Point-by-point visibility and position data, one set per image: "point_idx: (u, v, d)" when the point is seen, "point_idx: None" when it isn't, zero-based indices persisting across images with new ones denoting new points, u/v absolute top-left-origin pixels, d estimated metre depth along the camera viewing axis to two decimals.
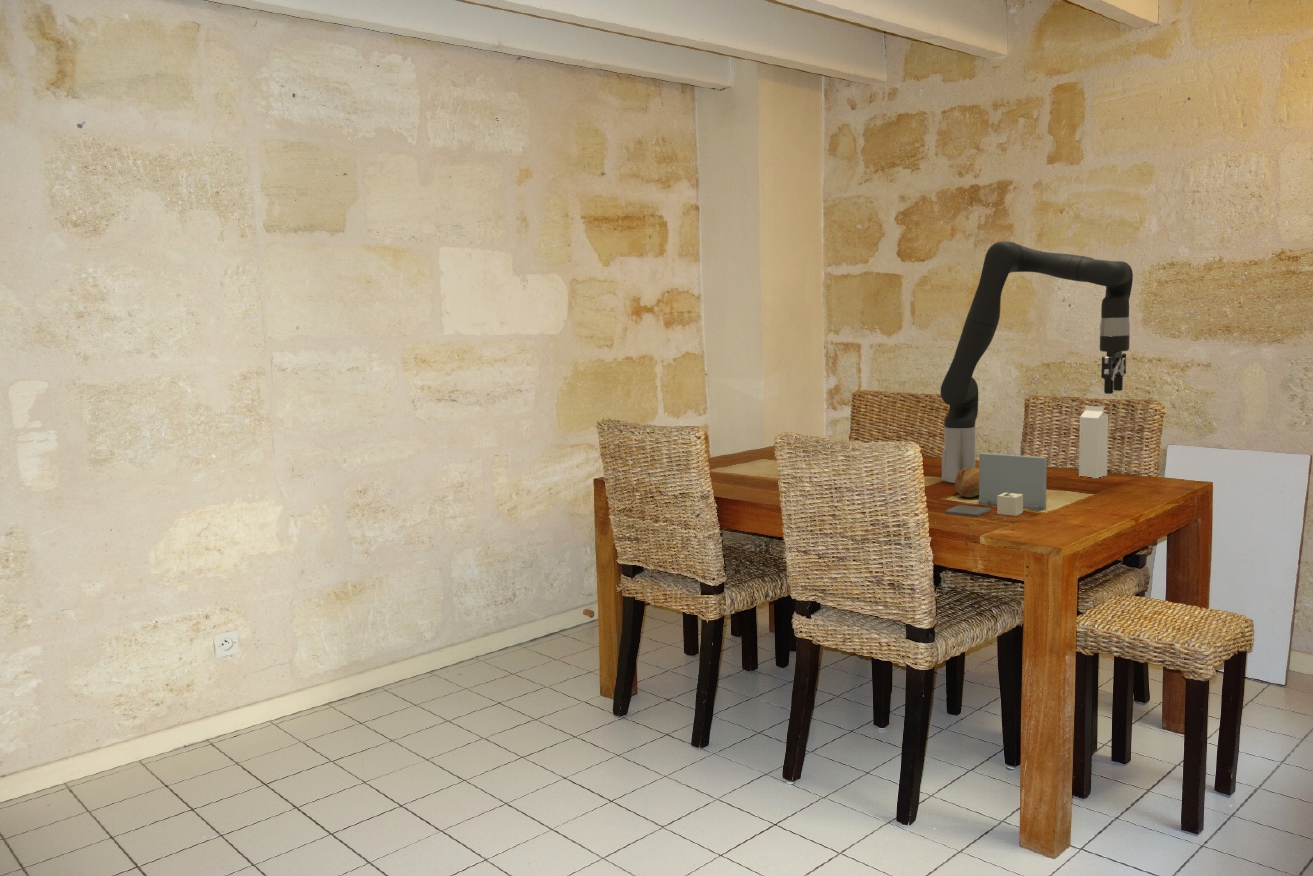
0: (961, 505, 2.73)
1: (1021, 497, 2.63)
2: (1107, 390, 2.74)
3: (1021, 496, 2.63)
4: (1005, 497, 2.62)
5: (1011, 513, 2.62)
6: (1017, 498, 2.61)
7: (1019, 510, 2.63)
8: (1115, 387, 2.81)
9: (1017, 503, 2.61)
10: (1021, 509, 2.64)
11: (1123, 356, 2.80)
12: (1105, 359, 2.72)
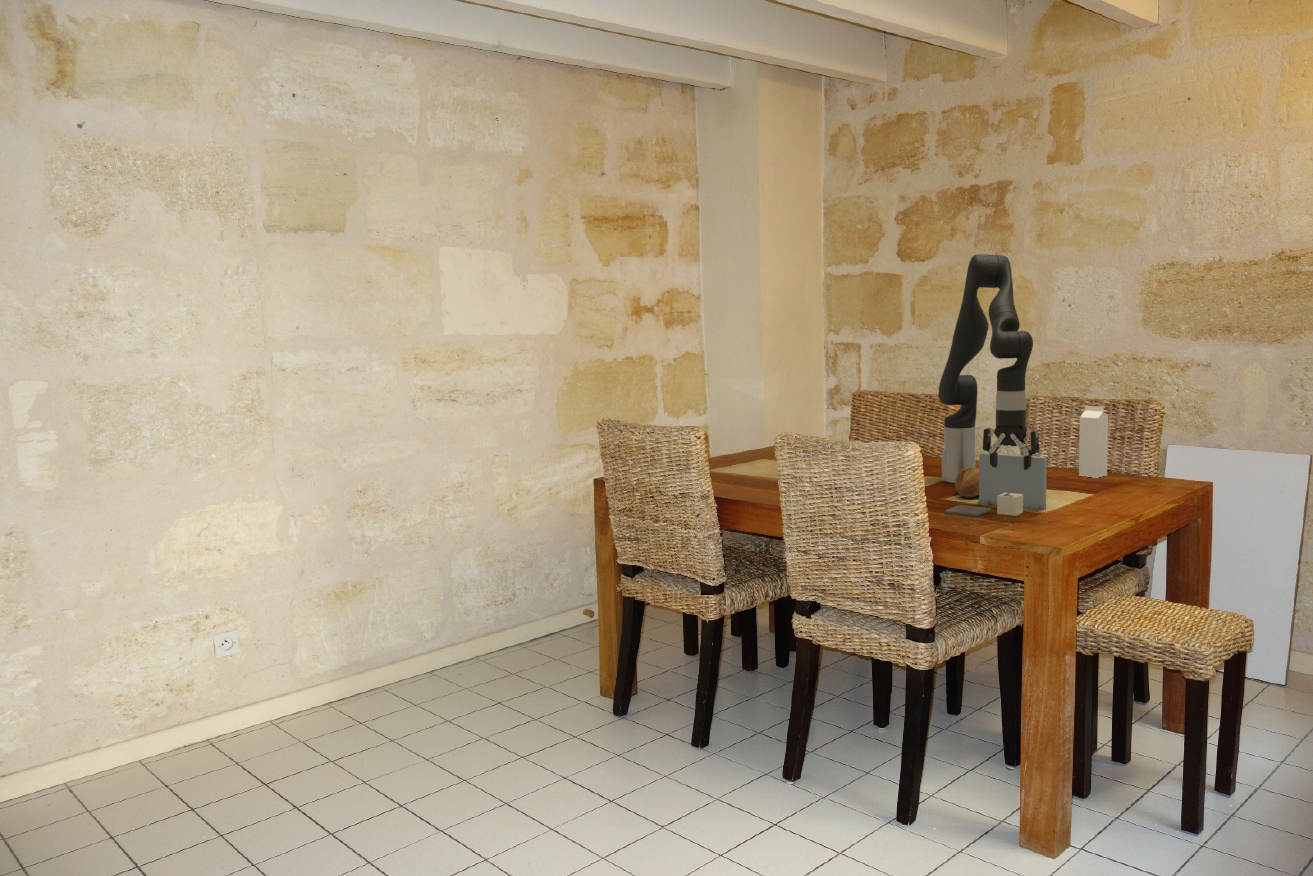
0: (961, 505, 2.73)
1: (1021, 497, 2.63)
2: (1029, 466, 2.59)
3: (1021, 496, 2.63)
4: (1005, 497, 2.62)
5: (1011, 513, 2.62)
6: (1017, 498, 2.61)
7: (1019, 510, 2.63)
8: (994, 464, 2.65)
9: (1017, 503, 2.61)
10: (1021, 509, 2.64)
11: None
12: (1036, 433, 2.57)
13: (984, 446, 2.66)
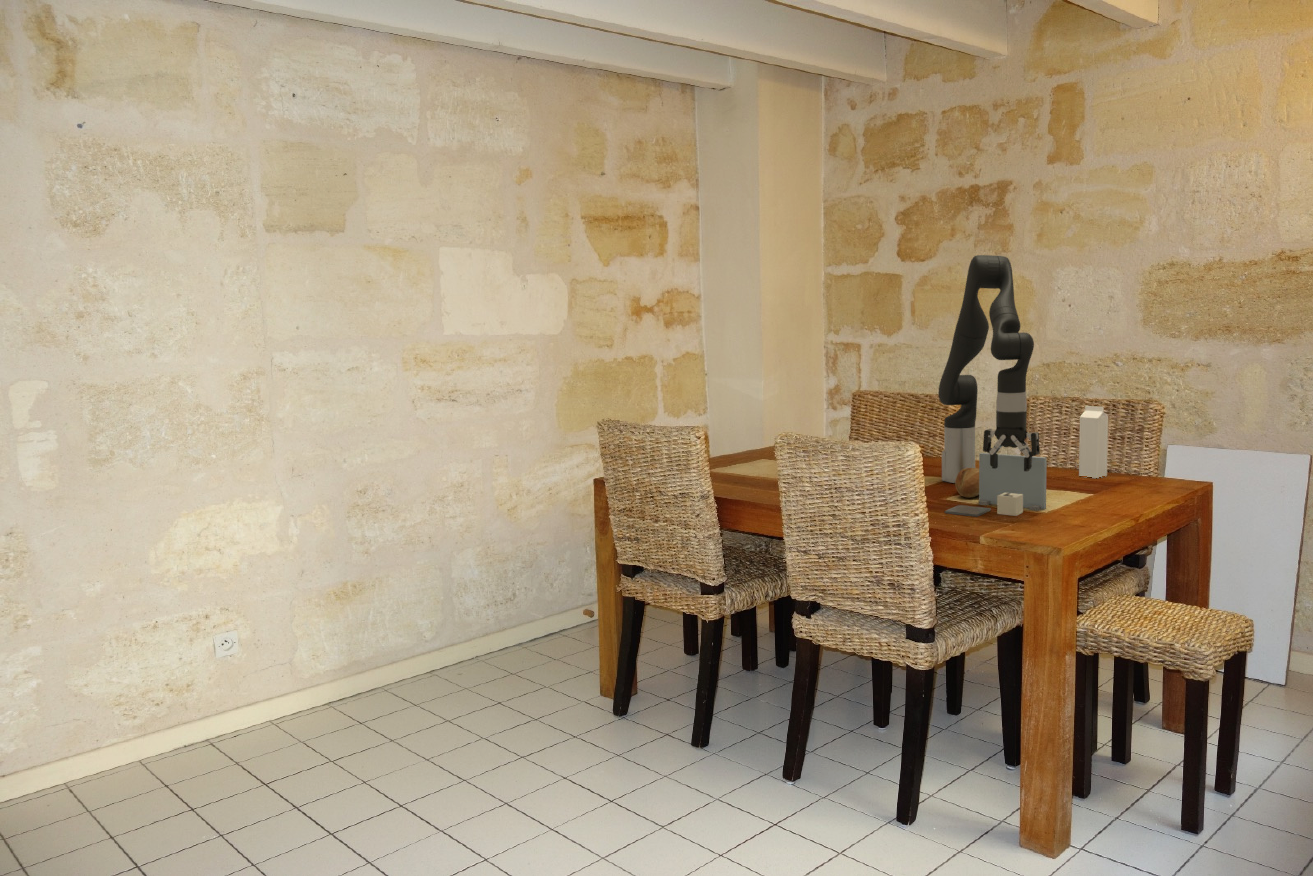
0: (961, 505, 2.73)
1: (1021, 497, 2.63)
2: (1030, 467, 2.60)
3: (1021, 496, 2.63)
4: (1005, 497, 2.62)
5: (1011, 513, 2.62)
6: (1017, 498, 2.61)
7: (1019, 510, 2.63)
8: (995, 465, 2.65)
9: (1017, 503, 2.61)
10: (1021, 509, 2.64)
11: None
12: (1036, 435, 2.57)
13: (984, 447, 2.66)
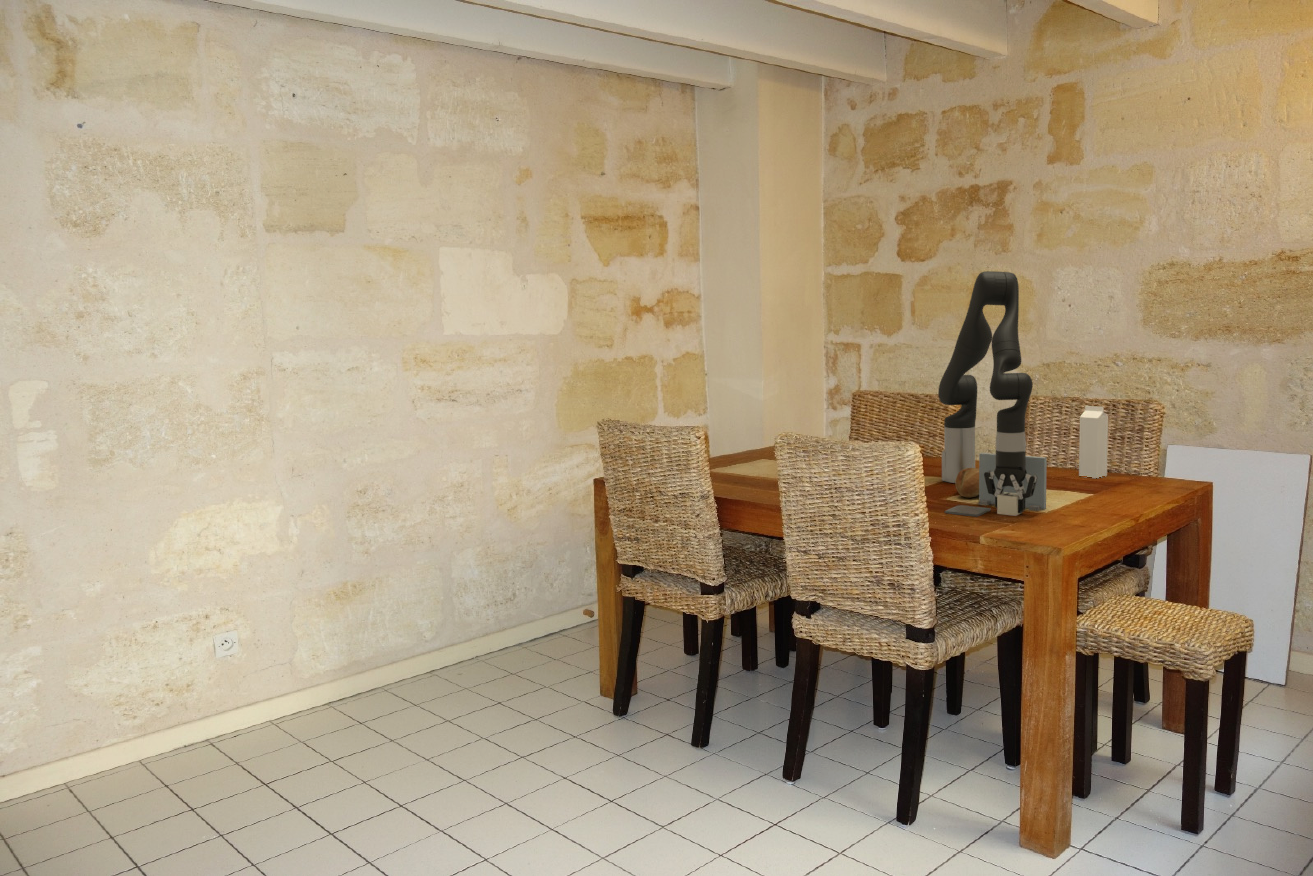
0: (961, 505, 2.73)
1: None
2: (1023, 509, 2.62)
3: None
4: (1005, 497, 2.62)
5: (1011, 513, 2.62)
6: (1017, 498, 2.61)
7: None
8: None
9: (1017, 503, 2.61)
10: None
11: None
12: (1035, 479, 2.59)
13: (989, 489, 2.66)
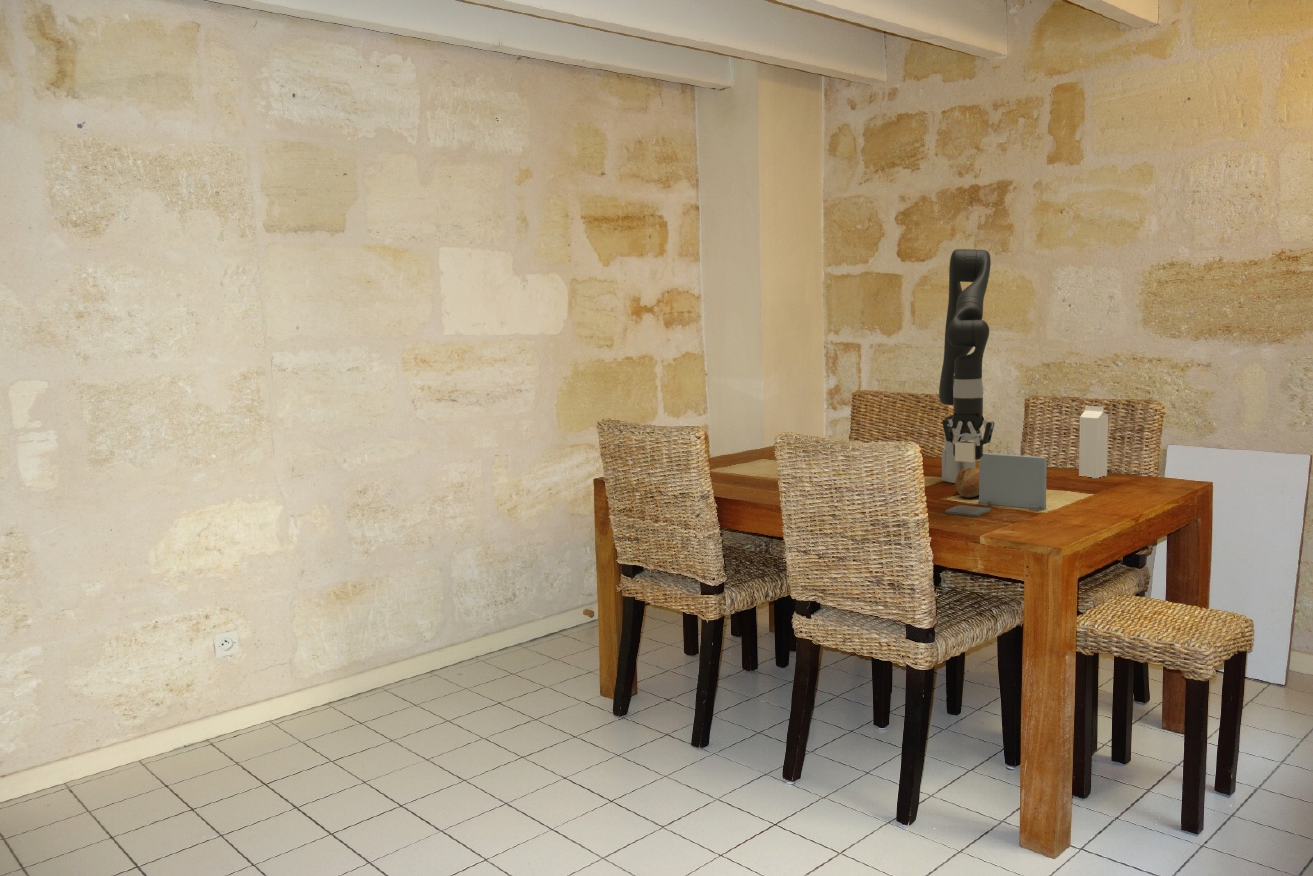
0: (961, 505, 2.73)
1: None
2: (981, 456, 2.64)
3: None
4: (962, 443, 2.64)
5: (969, 459, 2.63)
6: (974, 444, 2.63)
7: None
8: None
9: (974, 449, 2.63)
10: None
11: None
12: (992, 425, 2.60)
13: (948, 437, 2.68)
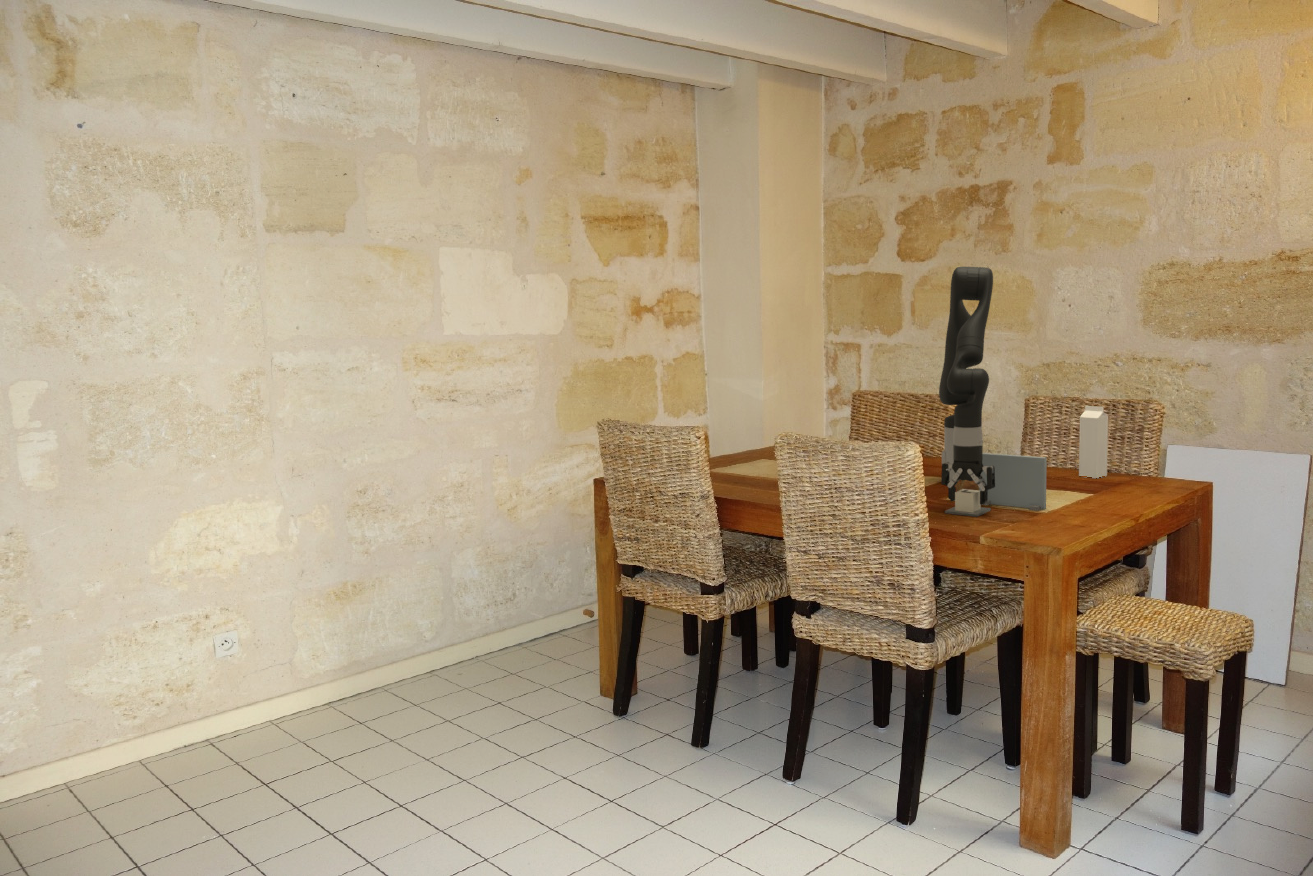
0: None
1: (978, 493, 2.67)
2: (986, 501, 2.64)
3: (978, 492, 2.67)
4: (962, 493, 2.66)
5: (969, 509, 2.65)
6: (974, 494, 2.65)
7: (976, 506, 2.66)
8: (953, 498, 2.70)
9: (974, 499, 2.65)
10: (978, 505, 2.67)
11: None
12: (992, 469, 2.62)
13: (943, 480, 2.70)
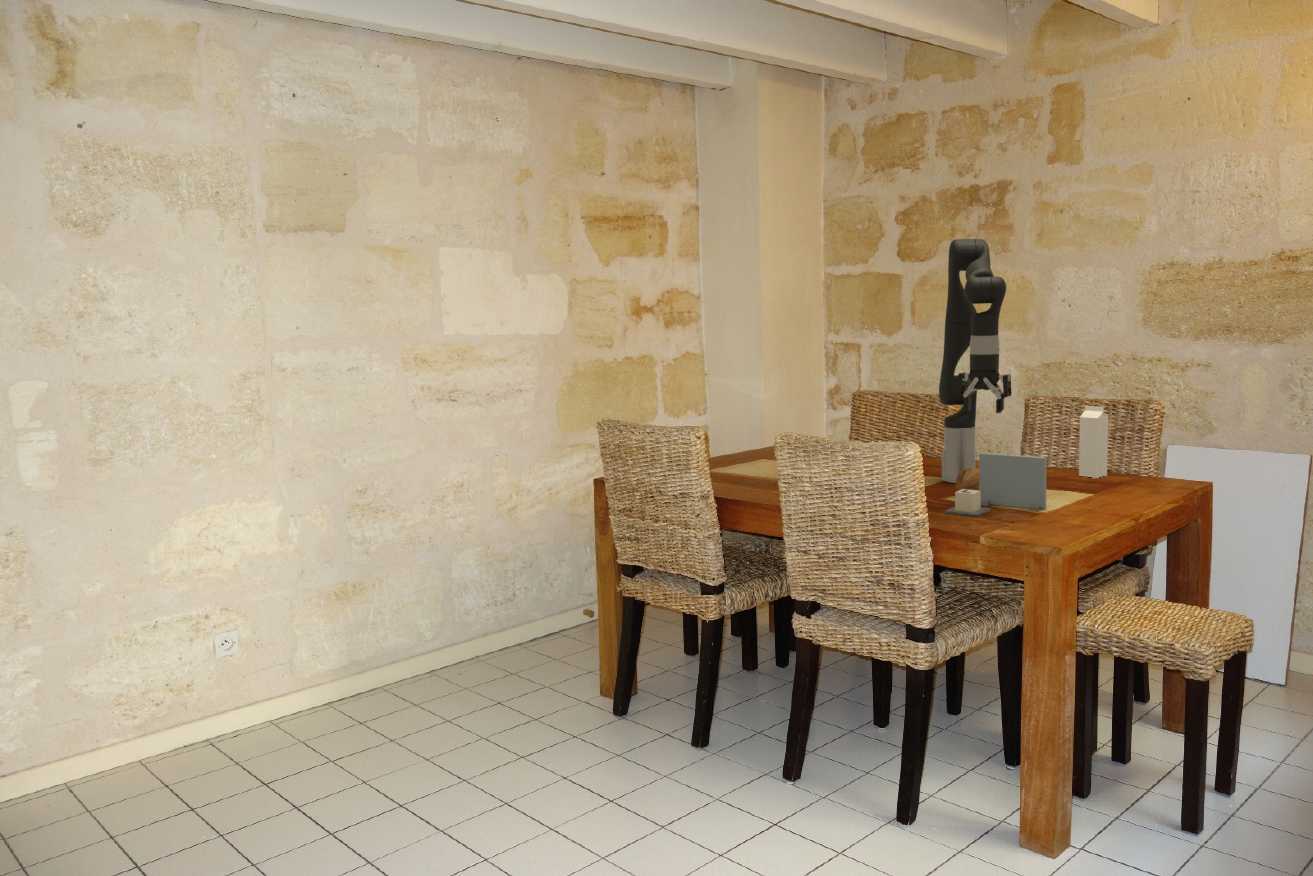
0: None
1: (978, 493, 2.67)
2: (1002, 409, 2.65)
3: (978, 492, 2.67)
4: (962, 493, 2.66)
5: (969, 509, 2.65)
6: (974, 494, 2.65)
7: (976, 506, 2.66)
8: (968, 407, 2.71)
9: (974, 499, 2.65)
10: (978, 505, 2.67)
11: None
12: (1008, 377, 2.63)
13: (958, 390, 2.71)
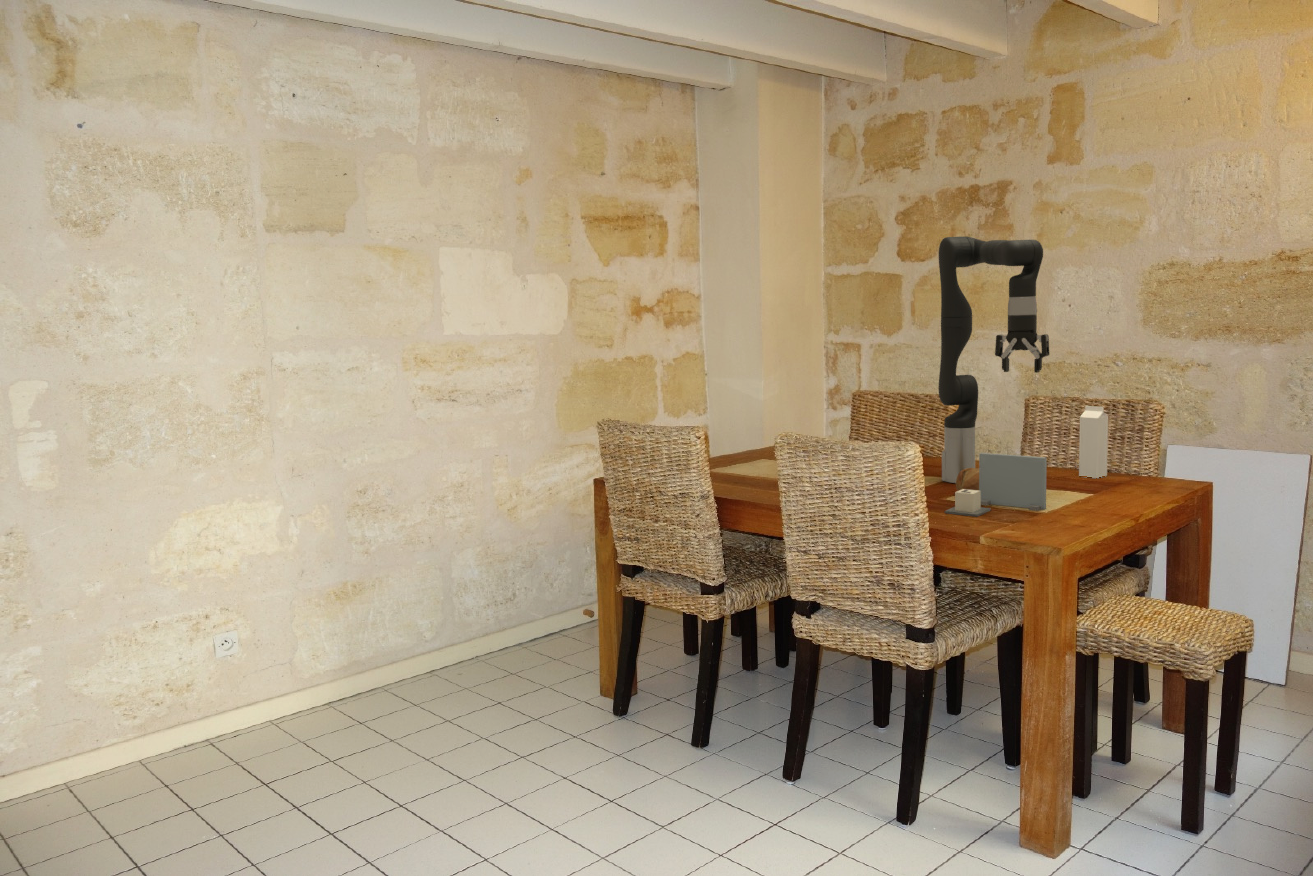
0: None
1: (978, 493, 2.67)
2: (1040, 368, 2.72)
3: (978, 492, 2.67)
4: (962, 493, 2.66)
5: (969, 509, 2.65)
6: (974, 494, 2.65)
7: (976, 506, 2.66)
8: (1006, 368, 2.78)
9: (974, 499, 2.65)
10: (978, 505, 2.67)
11: None
12: (1046, 337, 2.70)
13: (996, 352, 2.78)
